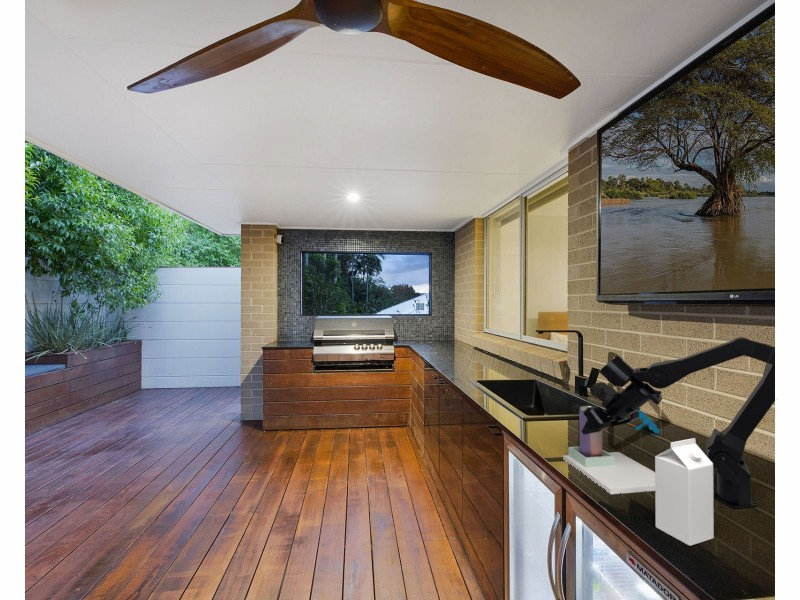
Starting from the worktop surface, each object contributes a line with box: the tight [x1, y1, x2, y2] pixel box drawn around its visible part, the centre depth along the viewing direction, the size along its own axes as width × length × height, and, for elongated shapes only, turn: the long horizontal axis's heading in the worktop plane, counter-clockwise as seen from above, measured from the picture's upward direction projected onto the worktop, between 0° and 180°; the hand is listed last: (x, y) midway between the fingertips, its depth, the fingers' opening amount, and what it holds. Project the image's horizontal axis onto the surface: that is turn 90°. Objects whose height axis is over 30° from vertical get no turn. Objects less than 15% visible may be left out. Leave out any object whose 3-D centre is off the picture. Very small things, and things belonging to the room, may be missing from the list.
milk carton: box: [654, 437, 715, 547], centre depth 84 cm, size 7×7×19 cm
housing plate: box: [562, 445, 655, 495], centre depth 113 cm, size 22×18×4 cm
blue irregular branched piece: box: [635, 409, 661, 435], centre depth 148 cm, size 11×6×10 cm
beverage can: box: [578, 405, 603, 457], centre depth 119 cm, size 6×6×15 cm
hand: (592, 429), depth 118 cm, fingers open, 9 cm apart
